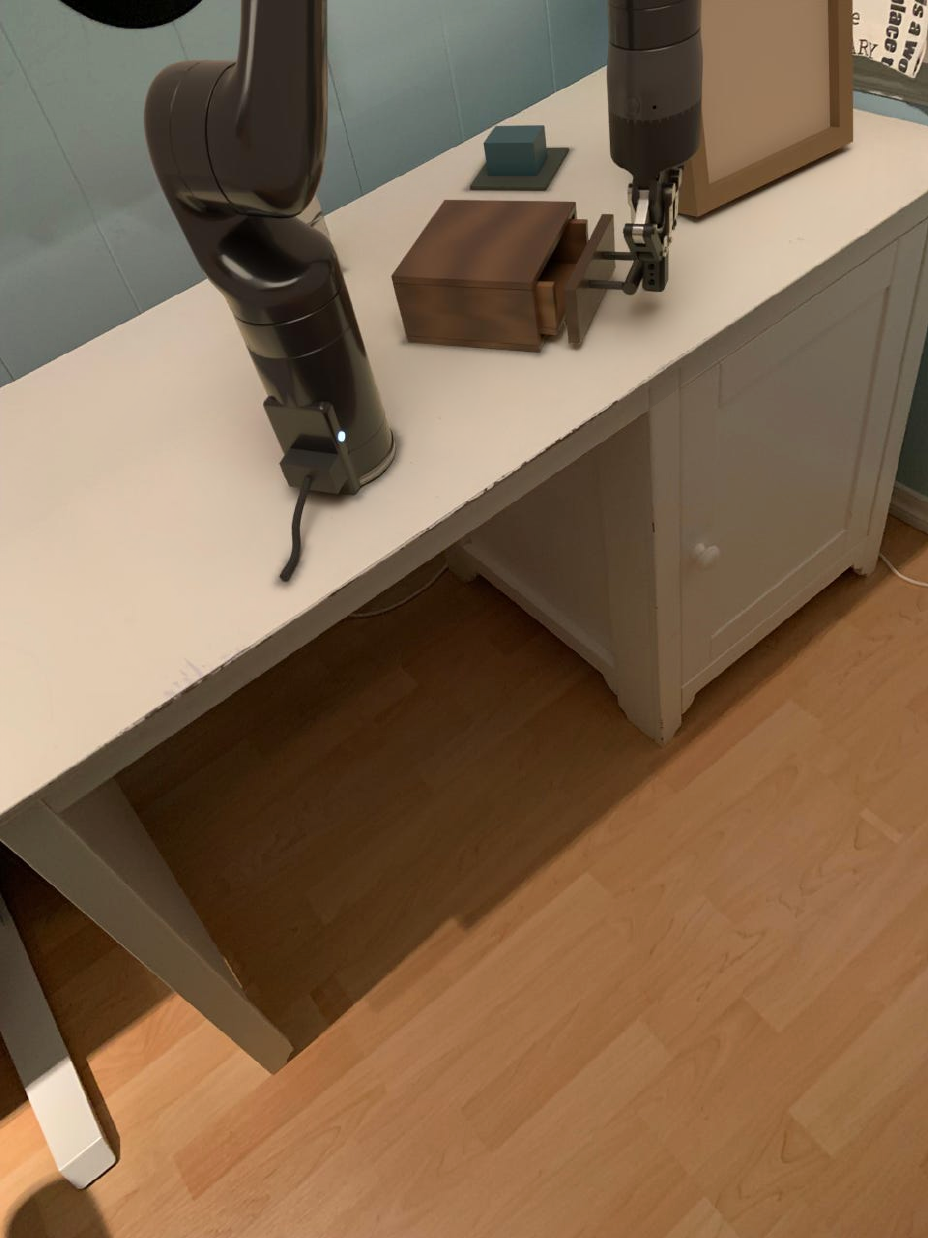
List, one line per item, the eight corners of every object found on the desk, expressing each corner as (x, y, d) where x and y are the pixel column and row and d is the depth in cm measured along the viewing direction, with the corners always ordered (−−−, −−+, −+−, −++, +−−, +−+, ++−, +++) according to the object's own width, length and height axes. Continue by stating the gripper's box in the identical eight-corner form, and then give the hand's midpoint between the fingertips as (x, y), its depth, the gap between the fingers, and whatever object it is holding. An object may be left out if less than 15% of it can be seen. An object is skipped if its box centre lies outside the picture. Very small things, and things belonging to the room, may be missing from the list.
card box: (536, 175, 108) (533, 142, 105) (488, 175, 111) (483, 142, 107) (547, 157, 111) (544, 124, 108) (499, 157, 113) (495, 125, 110)
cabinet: (581, 270, 94) (576, 201, 89) (540, 352, 87) (531, 282, 81) (457, 264, 99) (444, 199, 94) (407, 342, 92) (390, 275, 86)
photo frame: (851, 150, 100) (897, -128, 81) (697, 225, 96) (707, -49, 77) (762, 113, 109) (784, -145, 90) (617, 180, 105) (608, -75, 86)
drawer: (660, 268, 90) (660, 214, 86) (627, 347, 83) (626, 292, 79) (496, 262, 97) (488, 211, 92) (452, 334, 90) (441, 283, 85)
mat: (545, 190, 107) (545, 186, 106) (469, 189, 110) (469, 186, 110) (569, 150, 112) (568, 147, 112) (496, 150, 115) (495, 147, 115)
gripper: (682, 132, 66) (678, 330, 80) (718, 57, 73) (709, 251, 87) (586, 133, 69) (598, 325, 82) (629, 61, 76) (634, 248, 89)
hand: (655, 286), depth 85 cm, fingers closed
